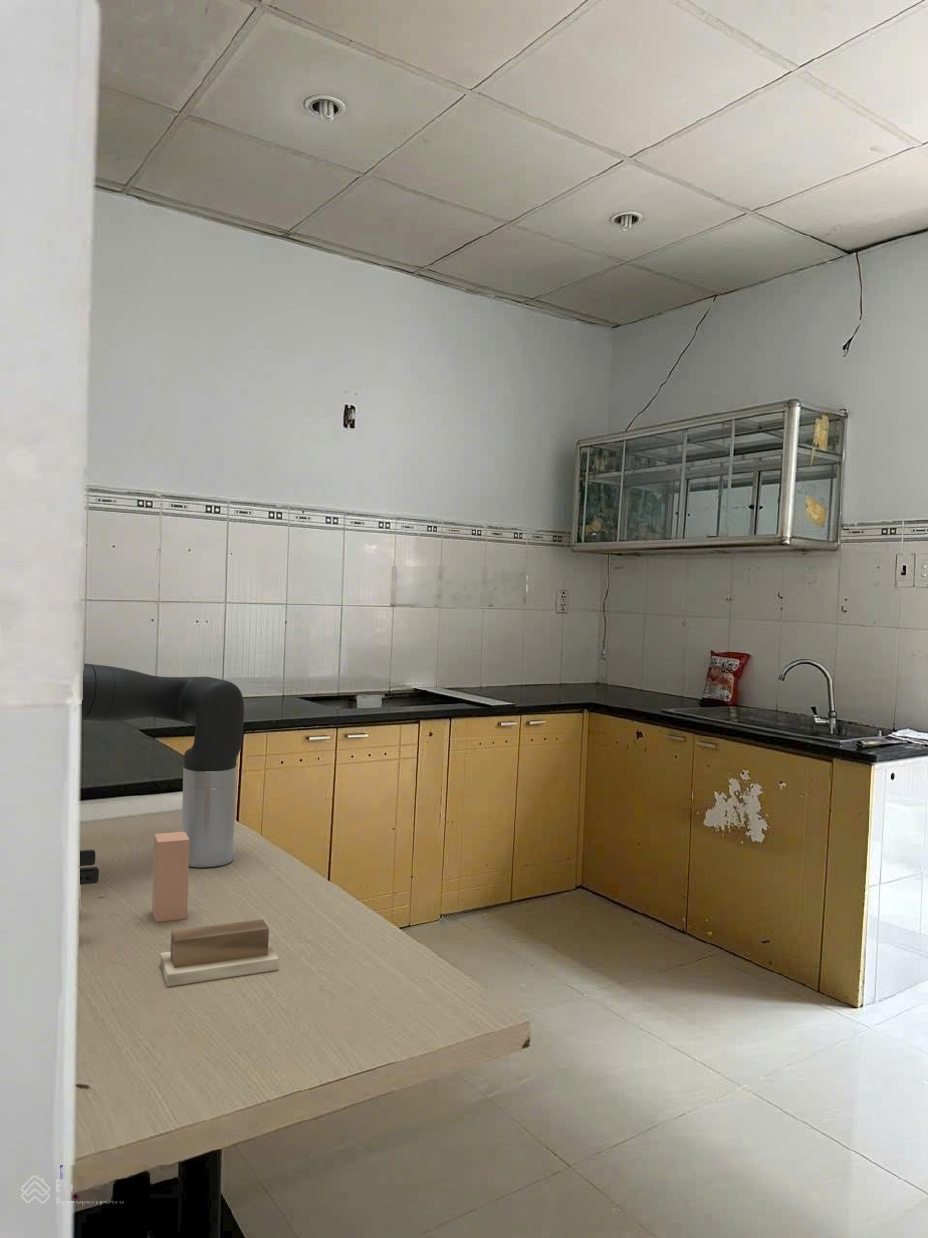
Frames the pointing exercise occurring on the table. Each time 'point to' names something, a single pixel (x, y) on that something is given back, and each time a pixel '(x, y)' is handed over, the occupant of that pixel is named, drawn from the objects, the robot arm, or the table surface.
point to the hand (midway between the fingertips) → (96, 865)
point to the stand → (218, 952)
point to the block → (170, 876)
